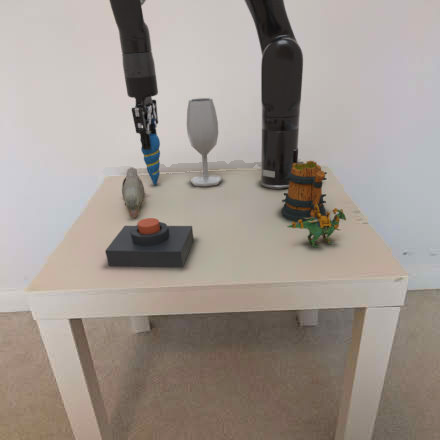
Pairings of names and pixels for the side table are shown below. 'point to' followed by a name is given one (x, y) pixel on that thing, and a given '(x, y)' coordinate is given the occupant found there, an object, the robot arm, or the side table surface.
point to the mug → (304, 192)
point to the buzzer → (151, 247)
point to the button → (148, 226)
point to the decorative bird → (133, 191)
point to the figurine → (320, 225)
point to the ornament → (152, 158)
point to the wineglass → (203, 135)
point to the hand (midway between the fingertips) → (150, 145)
